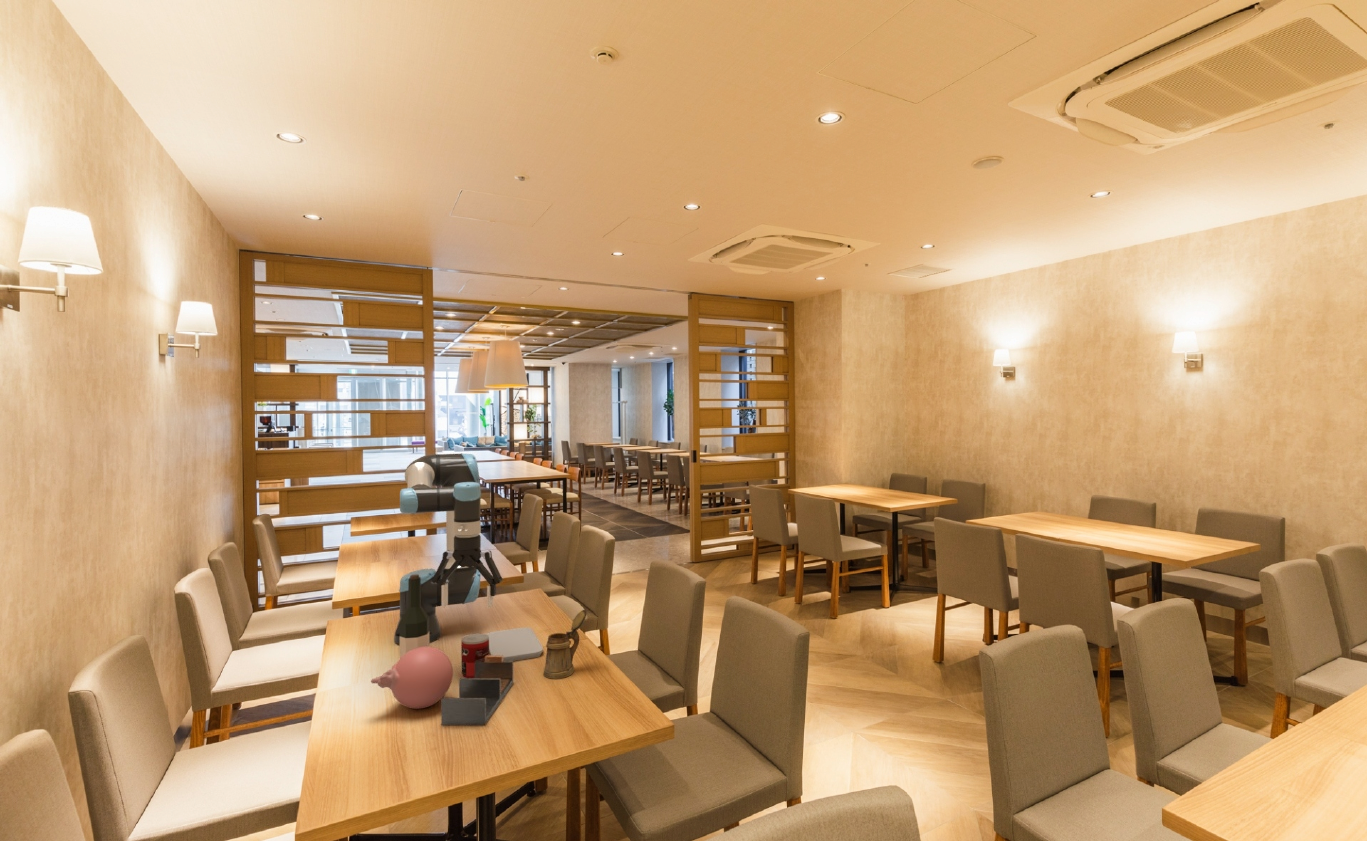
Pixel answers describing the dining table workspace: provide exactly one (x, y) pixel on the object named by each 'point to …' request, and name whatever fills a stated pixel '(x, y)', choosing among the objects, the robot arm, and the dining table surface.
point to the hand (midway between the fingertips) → (467, 606)
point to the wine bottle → (414, 620)
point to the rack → (479, 693)
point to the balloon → (419, 677)
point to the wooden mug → (563, 650)
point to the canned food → (473, 652)
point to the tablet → (515, 644)
